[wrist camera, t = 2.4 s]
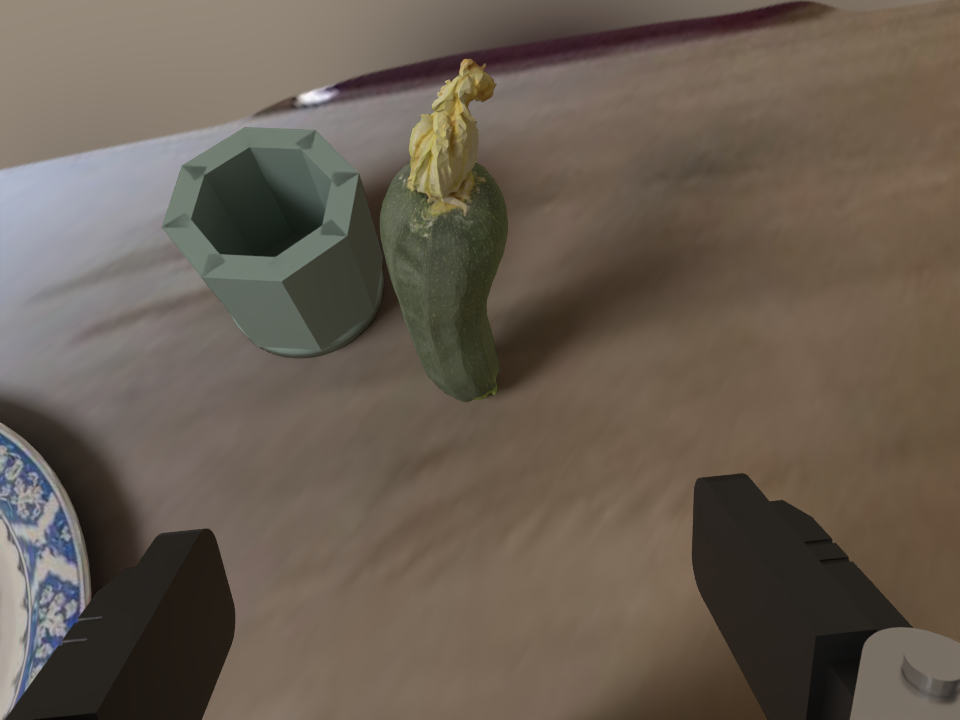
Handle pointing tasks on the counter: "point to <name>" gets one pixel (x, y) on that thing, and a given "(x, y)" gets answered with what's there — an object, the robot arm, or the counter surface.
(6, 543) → the ceramic plate
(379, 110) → the counter surface
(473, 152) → the vegetable
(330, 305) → the crock
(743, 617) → the robot arm
